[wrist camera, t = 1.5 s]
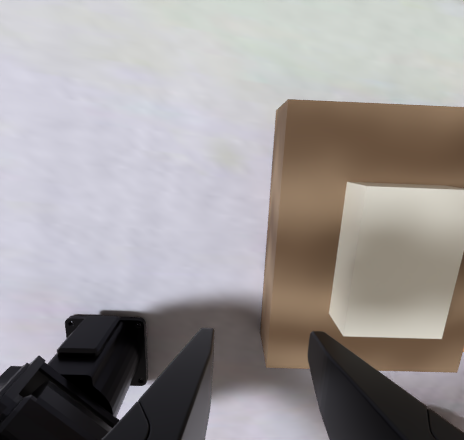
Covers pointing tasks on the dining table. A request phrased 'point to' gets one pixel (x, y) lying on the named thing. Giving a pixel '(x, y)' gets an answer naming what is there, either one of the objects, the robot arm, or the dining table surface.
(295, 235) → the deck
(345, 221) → the white rectangular block
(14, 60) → the dining table surface
